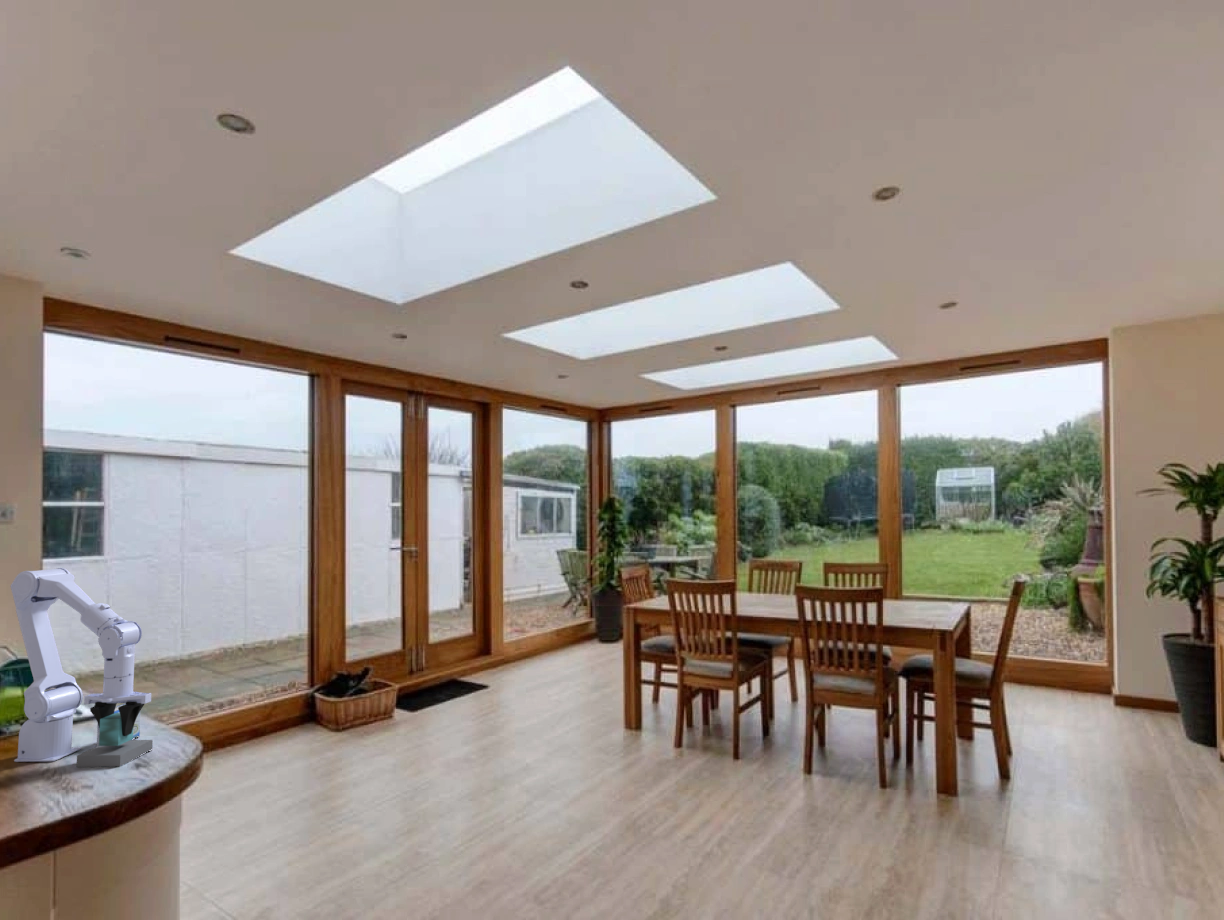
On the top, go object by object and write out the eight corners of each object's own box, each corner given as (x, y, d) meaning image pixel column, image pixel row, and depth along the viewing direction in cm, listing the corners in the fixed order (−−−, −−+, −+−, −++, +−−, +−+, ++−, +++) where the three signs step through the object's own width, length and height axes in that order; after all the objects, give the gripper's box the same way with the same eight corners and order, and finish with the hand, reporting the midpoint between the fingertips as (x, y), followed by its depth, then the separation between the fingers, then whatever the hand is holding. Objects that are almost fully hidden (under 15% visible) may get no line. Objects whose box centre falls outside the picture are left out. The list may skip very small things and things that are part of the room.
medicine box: (110, 748, 159) (112, 712, 160) (95, 747, 160) (97, 711, 161) (140, 737, 167) (141, 702, 168) (125, 736, 168) (127, 702, 169)
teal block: (98, 745, 151) (100, 719, 151) (114, 739, 155) (115, 713, 156) (118, 745, 150) (119, 718, 151) (132, 738, 155) (133, 712, 155)
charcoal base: (76, 766, 148) (77, 755, 148) (111, 750, 158) (111, 740, 158) (119, 766, 147) (120, 755, 148) (152, 750, 157) (152, 739, 158)
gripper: (74, 680, 150) (71, 741, 149) (136, 679, 150) (134, 740, 149) (99, 672, 157) (96, 730, 156) (158, 671, 157) (156, 730, 156)
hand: (116, 735), depth 153 cm, fingers closed on teal block, 4 cm apart
